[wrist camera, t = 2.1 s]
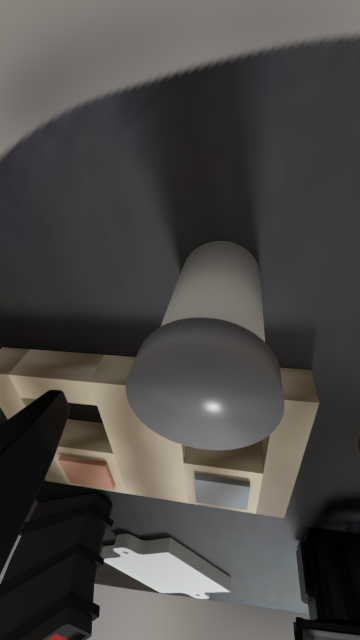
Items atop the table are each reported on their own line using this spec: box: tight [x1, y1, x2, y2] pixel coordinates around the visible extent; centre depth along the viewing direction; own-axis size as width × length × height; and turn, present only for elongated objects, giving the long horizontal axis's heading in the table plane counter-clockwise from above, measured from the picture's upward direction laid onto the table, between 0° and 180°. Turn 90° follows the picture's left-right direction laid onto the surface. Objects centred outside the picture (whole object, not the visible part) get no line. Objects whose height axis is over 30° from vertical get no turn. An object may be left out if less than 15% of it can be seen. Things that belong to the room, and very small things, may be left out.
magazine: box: [0, 493, 113, 640], centre depth 32 cm, size 4×13×15 cm, turn 124°
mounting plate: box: [101, 534, 231, 599], centre depth 43 cm, size 18×13×2 cm
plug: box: [126, 241, 285, 450], centre depth 13 cm, size 5×5×8 cm
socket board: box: [0, 347, 319, 518], centre depth 23 cm, size 21×14×3 cm, turn 94°
